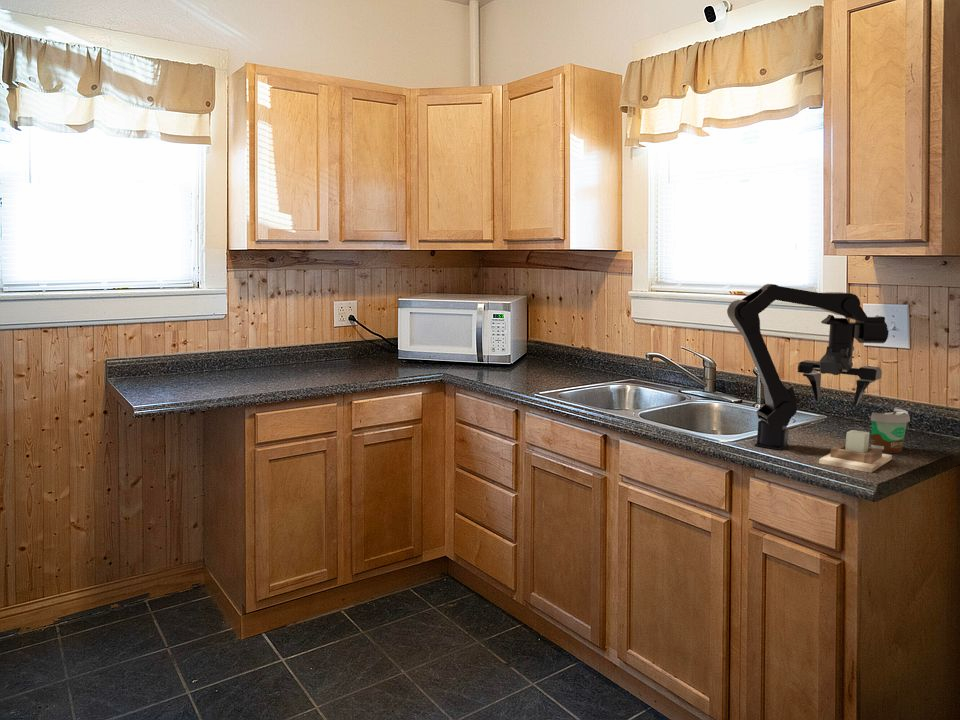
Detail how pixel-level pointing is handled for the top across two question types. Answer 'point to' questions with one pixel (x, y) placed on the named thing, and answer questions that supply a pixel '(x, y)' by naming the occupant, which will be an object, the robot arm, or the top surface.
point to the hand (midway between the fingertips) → (836, 403)
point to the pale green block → (857, 441)
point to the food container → (889, 430)
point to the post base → (856, 458)
